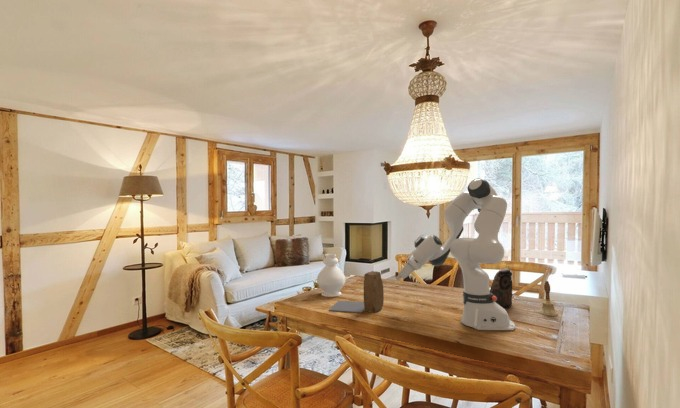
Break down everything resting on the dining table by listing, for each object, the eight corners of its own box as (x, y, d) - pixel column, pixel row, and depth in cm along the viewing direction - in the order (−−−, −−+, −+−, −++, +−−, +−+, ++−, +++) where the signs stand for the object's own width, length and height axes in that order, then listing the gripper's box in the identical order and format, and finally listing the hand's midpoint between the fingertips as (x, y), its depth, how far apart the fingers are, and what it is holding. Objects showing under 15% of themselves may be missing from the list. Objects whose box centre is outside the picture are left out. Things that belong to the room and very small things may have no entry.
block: (374, 313, 174) (373, 274, 174) (362, 311, 179) (361, 272, 179) (385, 308, 182) (385, 271, 183) (374, 306, 187) (373, 269, 188)
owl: (510, 302, 189) (509, 266, 189) (521, 309, 177) (520, 270, 177) (486, 302, 190) (486, 266, 190) (496, 309, 177) (495, 270, 177)
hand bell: (547, 316, 164) (546, 283, 164) (534, 311, 172) (533, 279, 172) (562, 315, 165) (561, 282, 166) (549, 310, 174) (548, 278, 174)
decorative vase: (336, 289, 227) (335, 251, 227) (351, 295, 212) (350, 254, 212) (312, 293, 218) (311, 254, 218) (326, 299, 202) (325, 257, 203)
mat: (369, 303, 193) (369, 302, 193) (362, 313, 176) (362, 312, 176) (338, 301, 198) (338, 300, 198) (328, 311, 181) (328, 309, 181)
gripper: (413, 253, 186) (395, 270, 189) (408, 259, 167) (389, 278, 170) (421, 261, 185) (404, 279, 188) (418, 269, 166) (398, 288, 169)
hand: (397, 279), depth 179 cm, fingers closed
